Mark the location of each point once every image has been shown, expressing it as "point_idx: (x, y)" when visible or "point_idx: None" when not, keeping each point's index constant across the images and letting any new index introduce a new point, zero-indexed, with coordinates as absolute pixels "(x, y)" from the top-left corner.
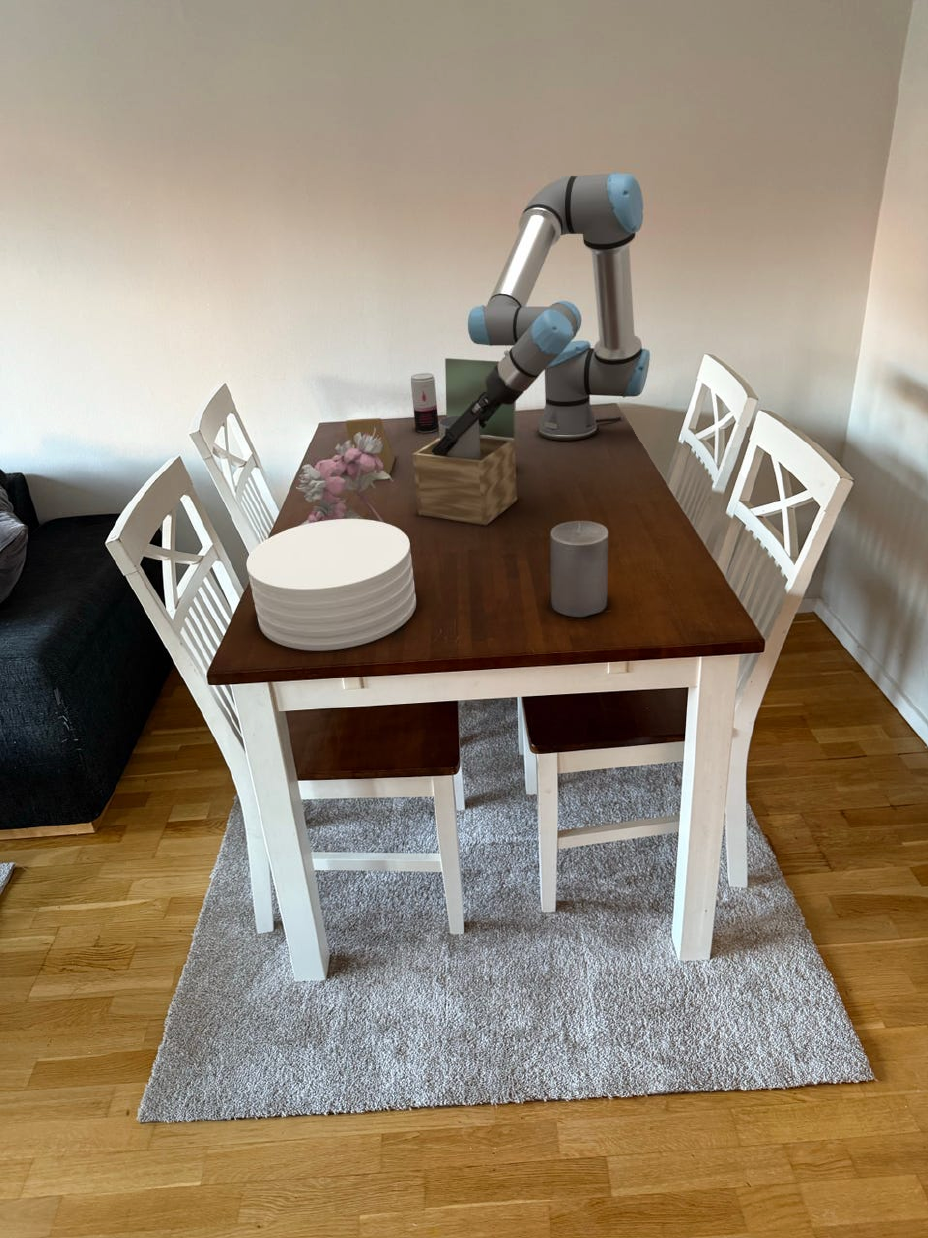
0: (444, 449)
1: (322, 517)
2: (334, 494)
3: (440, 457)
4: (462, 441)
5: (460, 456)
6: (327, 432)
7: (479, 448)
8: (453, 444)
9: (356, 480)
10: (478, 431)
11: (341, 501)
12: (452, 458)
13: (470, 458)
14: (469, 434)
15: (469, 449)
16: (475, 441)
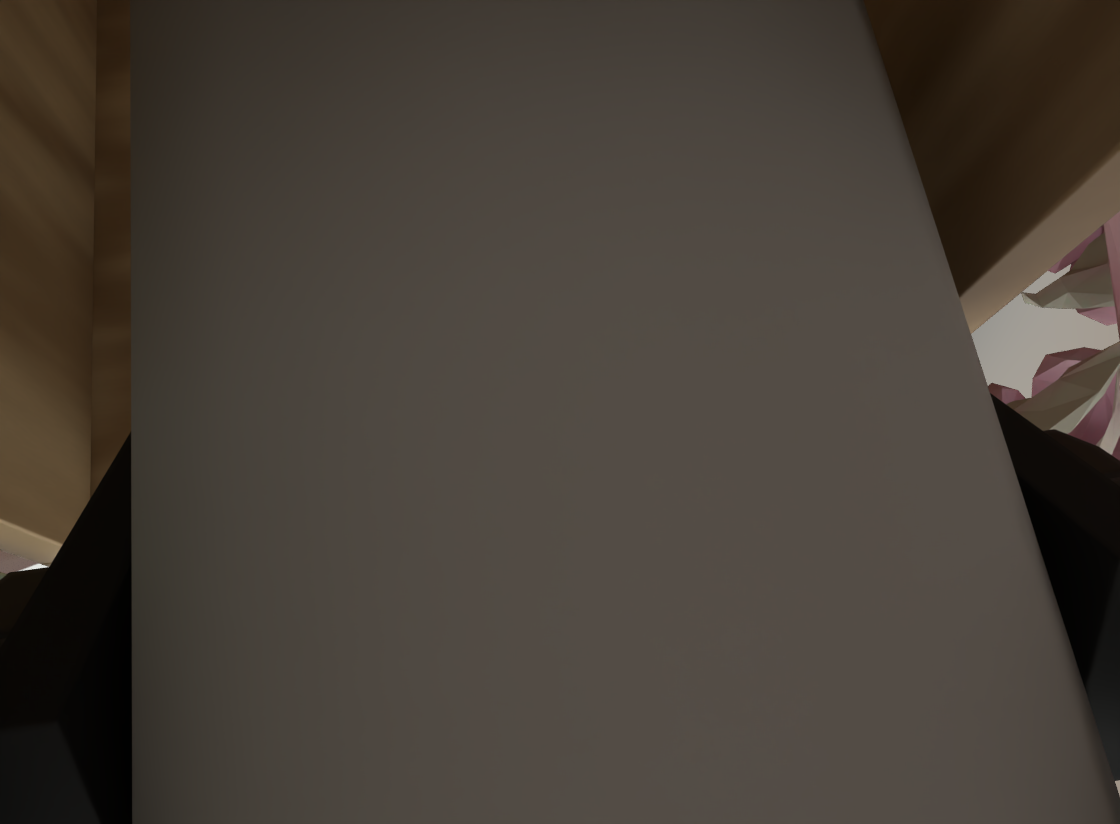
0: (1064, 436)
1: (1061, 268)
2: (1078, 359)
3: (972, 332)
4: (1016, 505)
5: (923, 195)
6: (32, 561)
7: (469, 145)
8: (1106, 488)
9: (1101, 397)
10: (515, 717)
11: (1109, 305)
12: (1093, 228)
13: (806, 29)
14: (991, 680)
15: (875, 243)
16: (720, 398)
